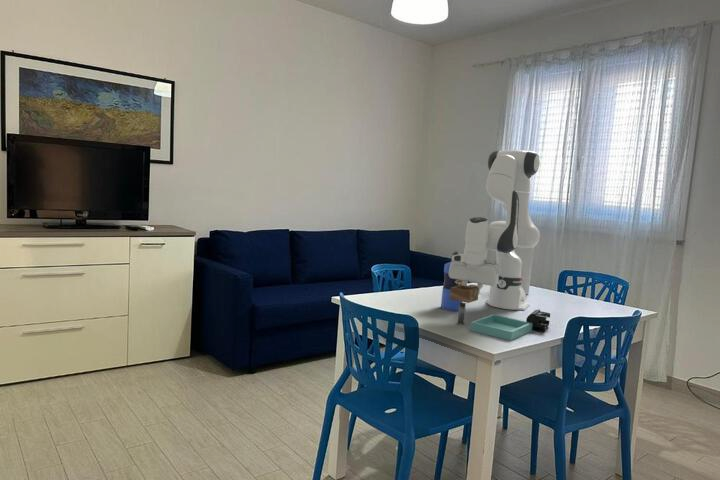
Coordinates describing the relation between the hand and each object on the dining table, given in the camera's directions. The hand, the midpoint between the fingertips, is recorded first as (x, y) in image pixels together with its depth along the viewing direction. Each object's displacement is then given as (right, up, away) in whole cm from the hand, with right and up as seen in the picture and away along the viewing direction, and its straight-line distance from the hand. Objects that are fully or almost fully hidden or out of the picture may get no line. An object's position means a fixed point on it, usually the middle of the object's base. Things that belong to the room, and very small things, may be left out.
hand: (471, 293), depth 207 cm
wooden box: (-3, -2, -3) cm, 4 cm away
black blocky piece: (+25, -14, -3) cm, 29 cm away
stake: (-5, -11, -4) cm, 13 cm away
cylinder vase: (+39, -7, +70) cm, 81 cm away
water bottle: (-5, -9, +21) cm, 23 cm away
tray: (+9, -13, -10) cm, 19 cm away
